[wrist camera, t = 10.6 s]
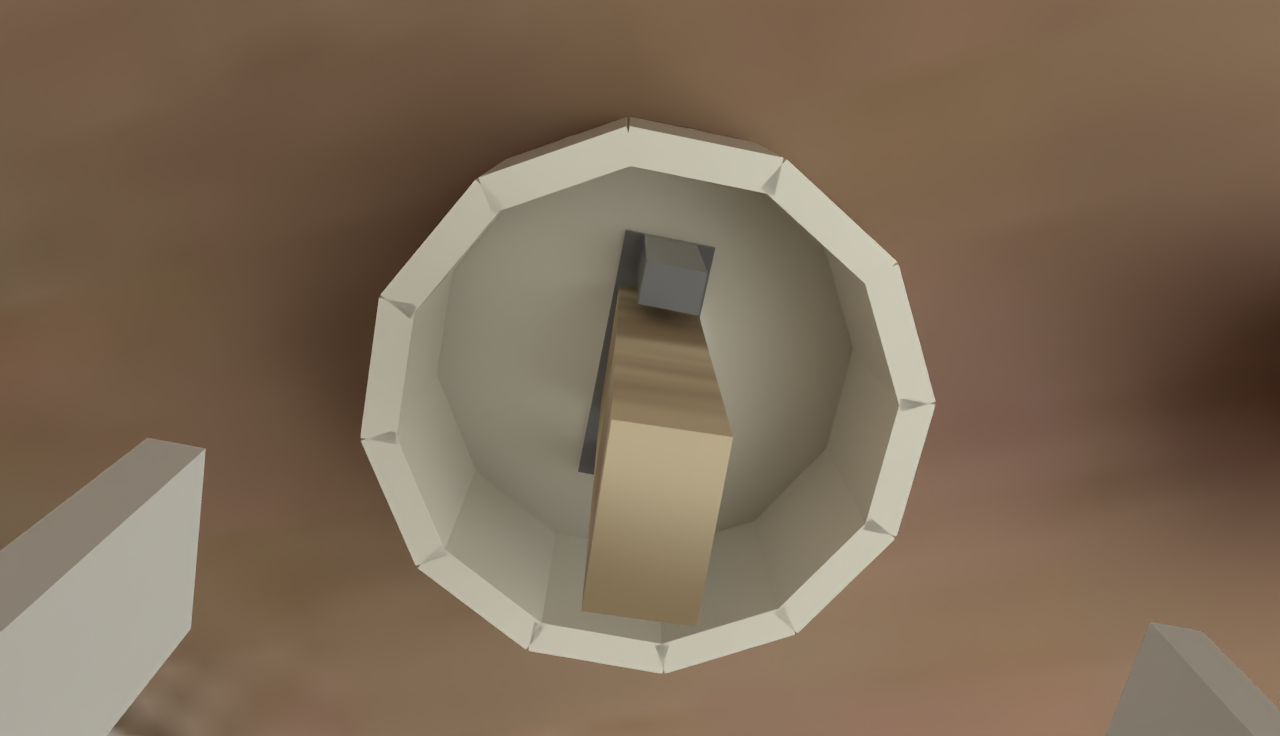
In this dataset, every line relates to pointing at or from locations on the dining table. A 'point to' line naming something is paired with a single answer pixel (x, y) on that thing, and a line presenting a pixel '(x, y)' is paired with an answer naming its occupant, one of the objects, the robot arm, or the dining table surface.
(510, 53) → the dining table surface
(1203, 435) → the dining table surface
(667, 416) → the cream rectangular box
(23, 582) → the robot arm
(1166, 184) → the dining table surface
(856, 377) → the white round bowl
